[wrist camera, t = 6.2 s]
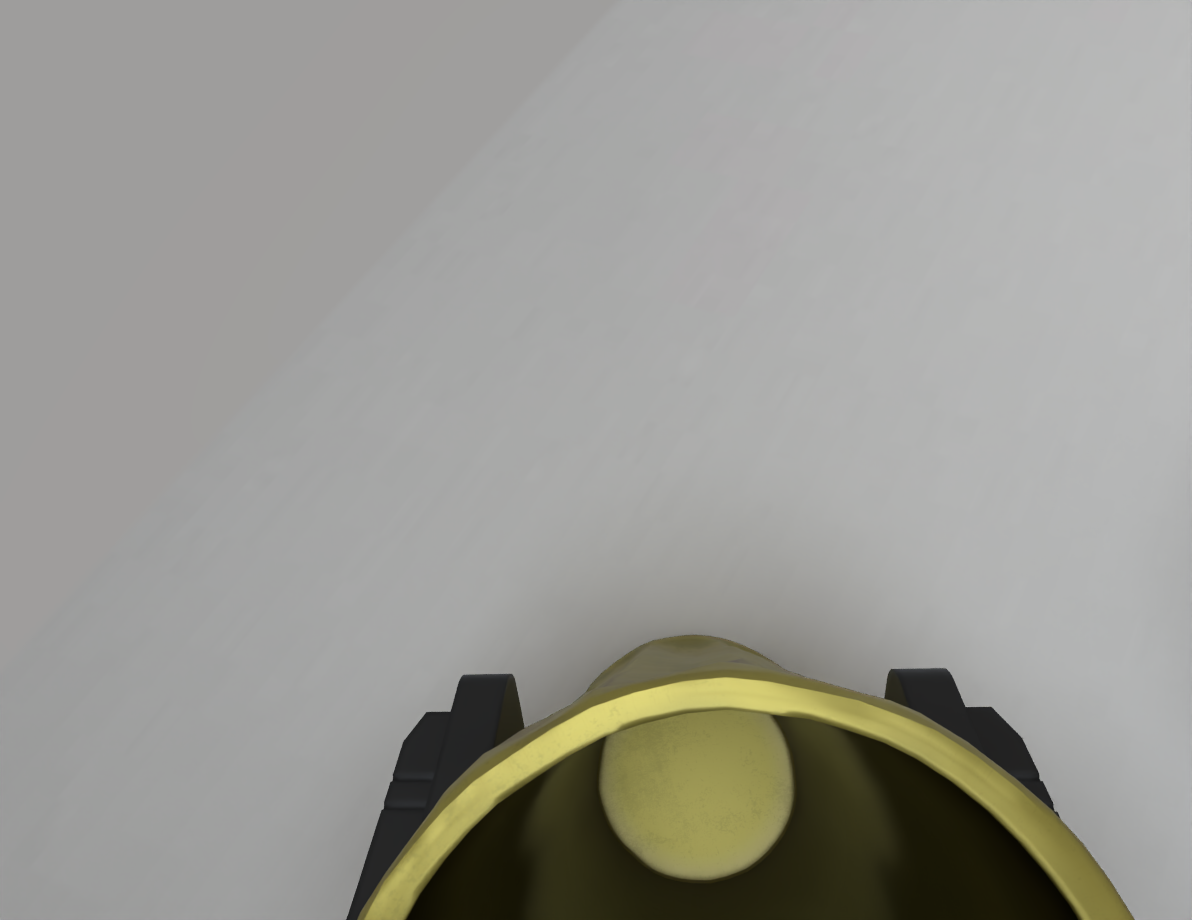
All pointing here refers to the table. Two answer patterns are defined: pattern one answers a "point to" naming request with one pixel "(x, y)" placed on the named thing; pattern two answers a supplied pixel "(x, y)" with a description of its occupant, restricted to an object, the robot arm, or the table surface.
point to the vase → (738, 811)
